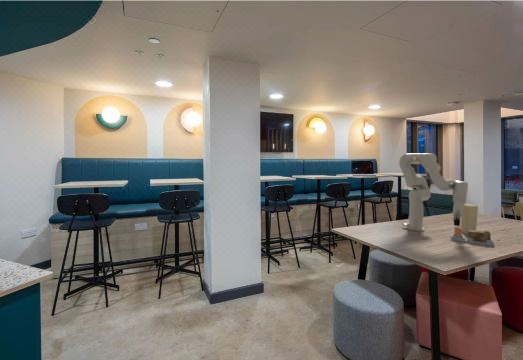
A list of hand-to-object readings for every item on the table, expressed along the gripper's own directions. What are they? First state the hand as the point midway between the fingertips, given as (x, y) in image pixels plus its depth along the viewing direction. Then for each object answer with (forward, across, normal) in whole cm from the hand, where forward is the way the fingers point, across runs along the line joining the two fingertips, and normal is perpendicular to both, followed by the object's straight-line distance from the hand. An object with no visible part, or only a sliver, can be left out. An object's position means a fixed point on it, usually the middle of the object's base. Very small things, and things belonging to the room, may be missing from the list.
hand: (456, 224), depth 191 cm
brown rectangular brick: (+9, +1, +2) cm, 10 cm away
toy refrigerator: (+11, -24, +9) cm, 27 cm away
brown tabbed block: (+9, 0, +13) cm, 16 cm away
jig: (+10, +1, +9) cm, 14 cm away
